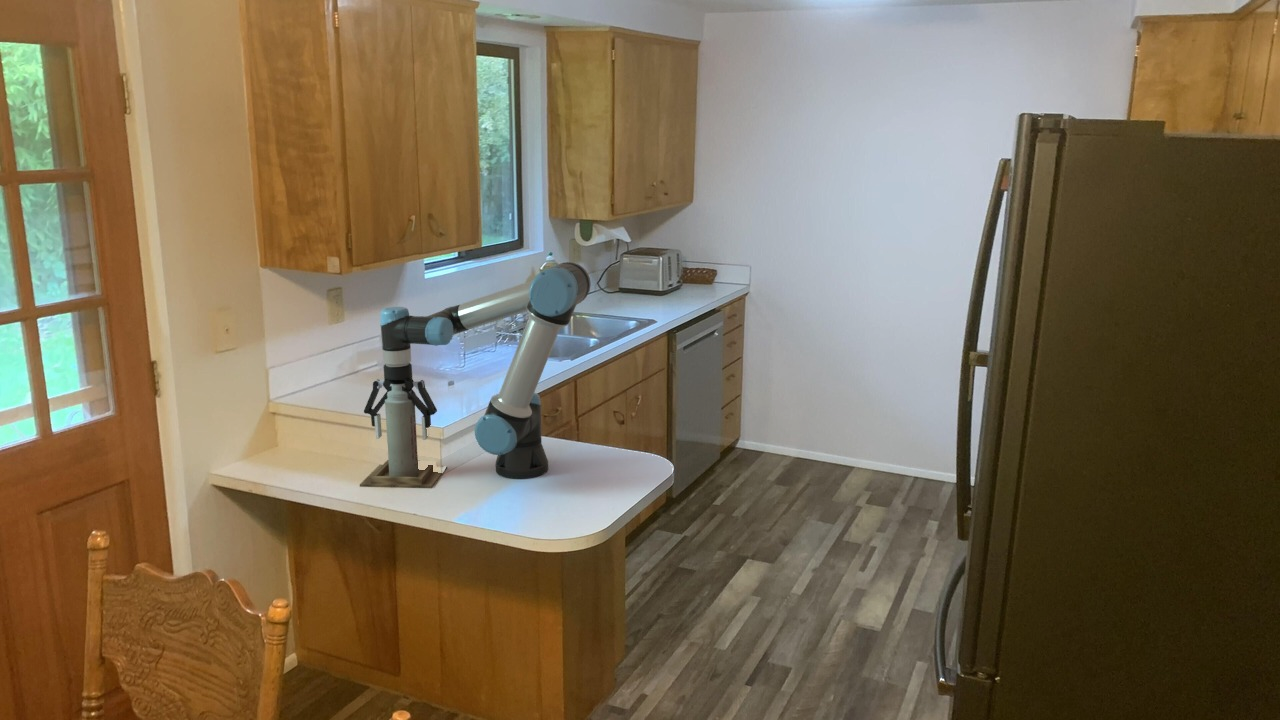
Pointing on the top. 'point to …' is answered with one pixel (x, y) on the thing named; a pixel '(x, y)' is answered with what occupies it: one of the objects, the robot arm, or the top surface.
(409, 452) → the thermos bottle
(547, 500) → the top surface
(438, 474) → the brown wooden tray
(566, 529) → the top surface
